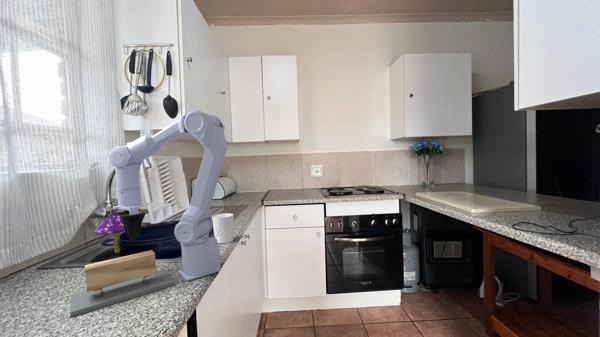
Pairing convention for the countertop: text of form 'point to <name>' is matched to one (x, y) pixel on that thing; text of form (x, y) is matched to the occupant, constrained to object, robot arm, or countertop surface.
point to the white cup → (223, 227)
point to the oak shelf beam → (119, 270)
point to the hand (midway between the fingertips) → (132, 236)
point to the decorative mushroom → (112, 228)
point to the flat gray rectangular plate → (118, 292)
